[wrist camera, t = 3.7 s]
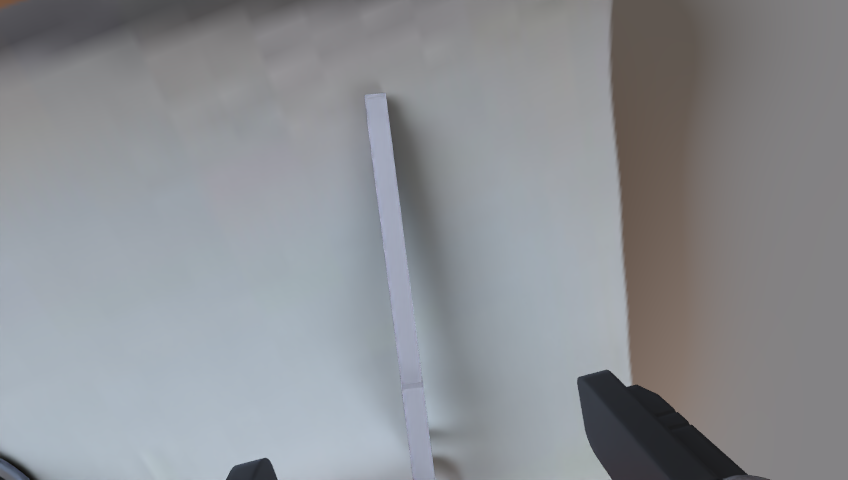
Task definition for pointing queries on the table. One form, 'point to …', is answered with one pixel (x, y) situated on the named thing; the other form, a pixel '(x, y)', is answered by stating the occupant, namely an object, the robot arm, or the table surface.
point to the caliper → (399, 287)
